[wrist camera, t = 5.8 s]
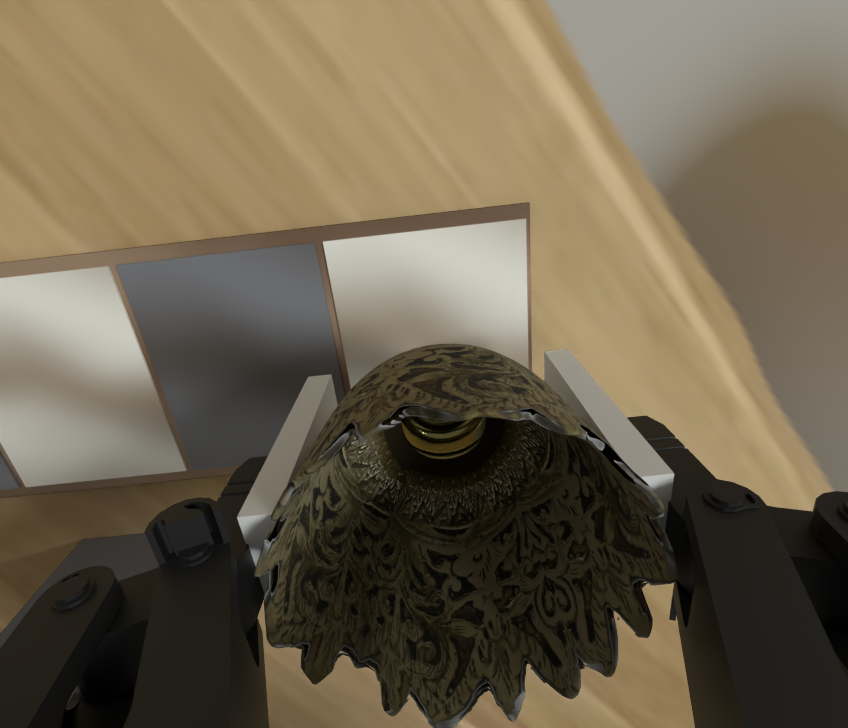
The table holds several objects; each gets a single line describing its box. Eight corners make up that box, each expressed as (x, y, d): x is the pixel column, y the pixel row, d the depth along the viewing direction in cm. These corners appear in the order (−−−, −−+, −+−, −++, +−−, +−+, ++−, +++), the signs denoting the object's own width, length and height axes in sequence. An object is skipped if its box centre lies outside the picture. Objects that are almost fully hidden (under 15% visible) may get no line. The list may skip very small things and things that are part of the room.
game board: (531, 441, 20) (533, 445, 20) (-128, 508, 21) (-136, 513, 21) (528, 202, 16) (530, 203, 16) (-289, 295, 17) (-300, 297, 17)
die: (239, 612, 25) (189, 746, 19) (128, 623, 25) (46, 758, 19) (206, 525, 22) (136, 649, 17) (83, 538, 22) (-27, 664, 17)
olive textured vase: (284, 406, 16) (168, 620, 8) (430, 236, 14) (449, 317, 6) (448, 520, 18) (473, 774, 10) (597, 387, 16) (762, 585, 8)
